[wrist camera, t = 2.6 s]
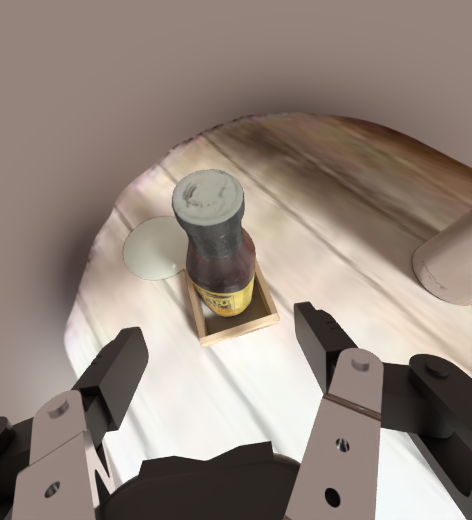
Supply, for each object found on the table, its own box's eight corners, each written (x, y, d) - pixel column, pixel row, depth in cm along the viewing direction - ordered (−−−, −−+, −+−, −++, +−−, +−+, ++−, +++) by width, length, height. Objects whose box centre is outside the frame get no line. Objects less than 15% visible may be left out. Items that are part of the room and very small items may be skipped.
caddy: (250, 254, 32) (250, 244, 30) (277, 323, 28) (280, 318, 25) (188, 273, 32) (182, 264, 29) (205, 347, 27) (200, 345, 24)
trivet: (187, 211, 37) (186, 208, 36) (202, 267, 32) (202, 265, 31) (122, 229, 36) (120, 227, 35) (127, 290, 31) (125, 289, 30)
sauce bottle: (197, 297, 30) (119, 192, 12) (229, 266, 32) (201, 136, 14) (231, 331, 28) (196, 264, 10) (263, 296, 29) (283, 186, 12)
